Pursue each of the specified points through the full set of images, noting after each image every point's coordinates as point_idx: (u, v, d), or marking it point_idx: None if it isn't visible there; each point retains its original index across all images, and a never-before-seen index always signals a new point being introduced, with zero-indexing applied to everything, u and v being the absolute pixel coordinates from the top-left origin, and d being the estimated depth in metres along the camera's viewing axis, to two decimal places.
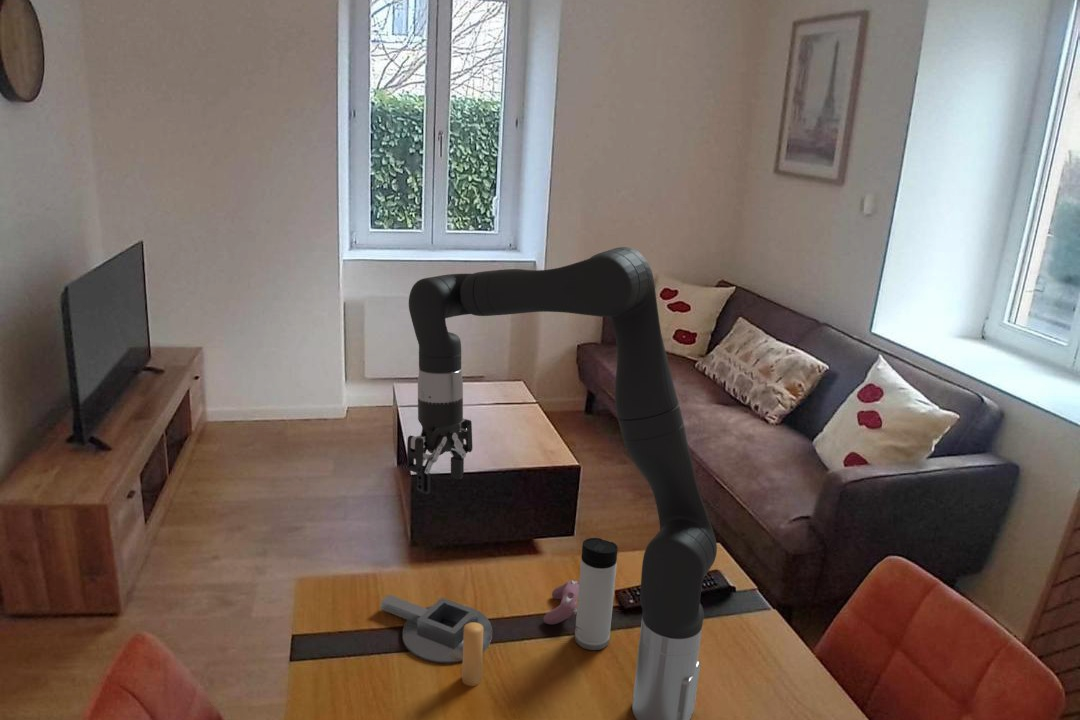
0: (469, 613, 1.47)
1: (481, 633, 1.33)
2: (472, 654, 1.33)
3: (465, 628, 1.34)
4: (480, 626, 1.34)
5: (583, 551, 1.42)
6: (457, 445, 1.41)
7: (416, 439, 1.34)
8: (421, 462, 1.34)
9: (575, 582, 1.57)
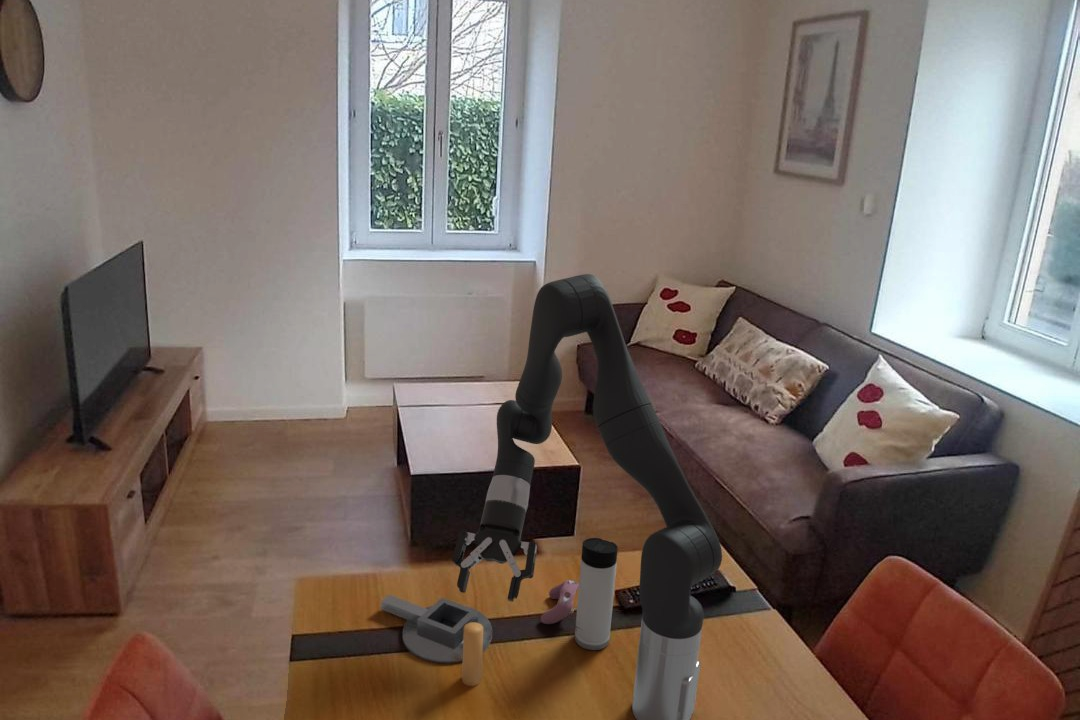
0: (469, 613, 1.47)
1: (481, 633, 1.33)
2: (472, 654, 1.33)
3: (465, 628, 1.34)
4: (480, 626, 1.34)
5: (583, 551, 1.42)
6: (506, 556, 1.41)
7: None
8: (458, 552, 1.43)
9: (572, 582, 1.57)
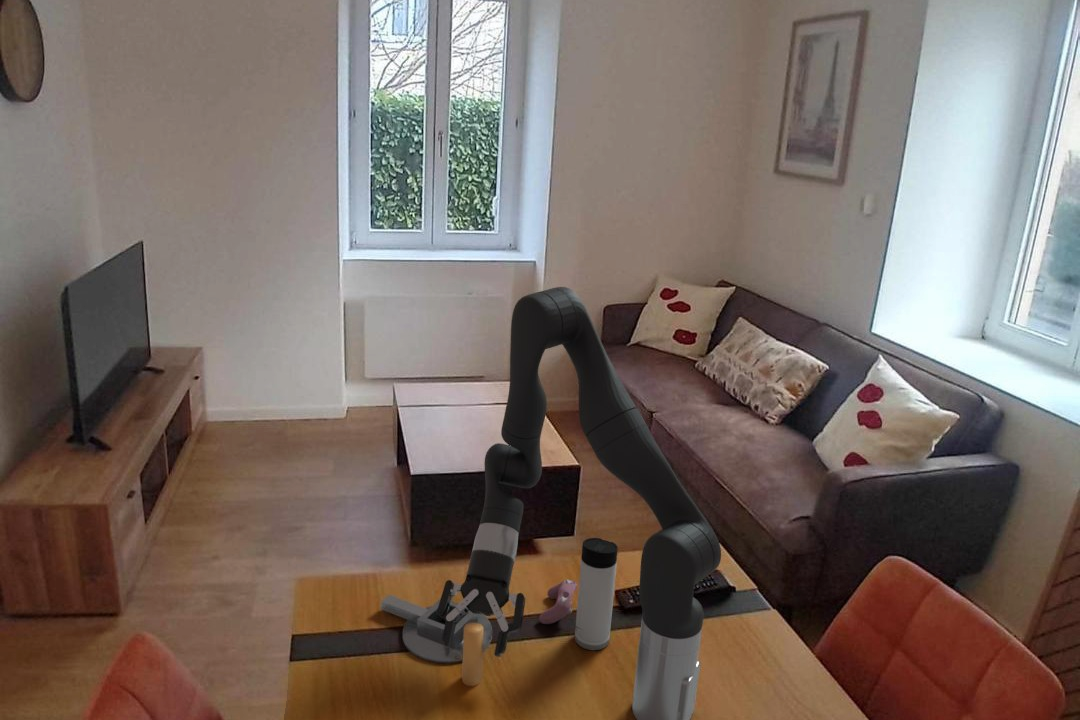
0: (469, 613, 1.47)
1: (481, 633, 1.33)
2: (472, 654, 1.33)
3: (465, 628, 1.34)
4: (480, 626, 1.34)
5: (583, 551, 1.42)
6: (493, 609, 1.36)
7: None
8: (444, 604, 1.38)
9: (570, 581, 1.57)
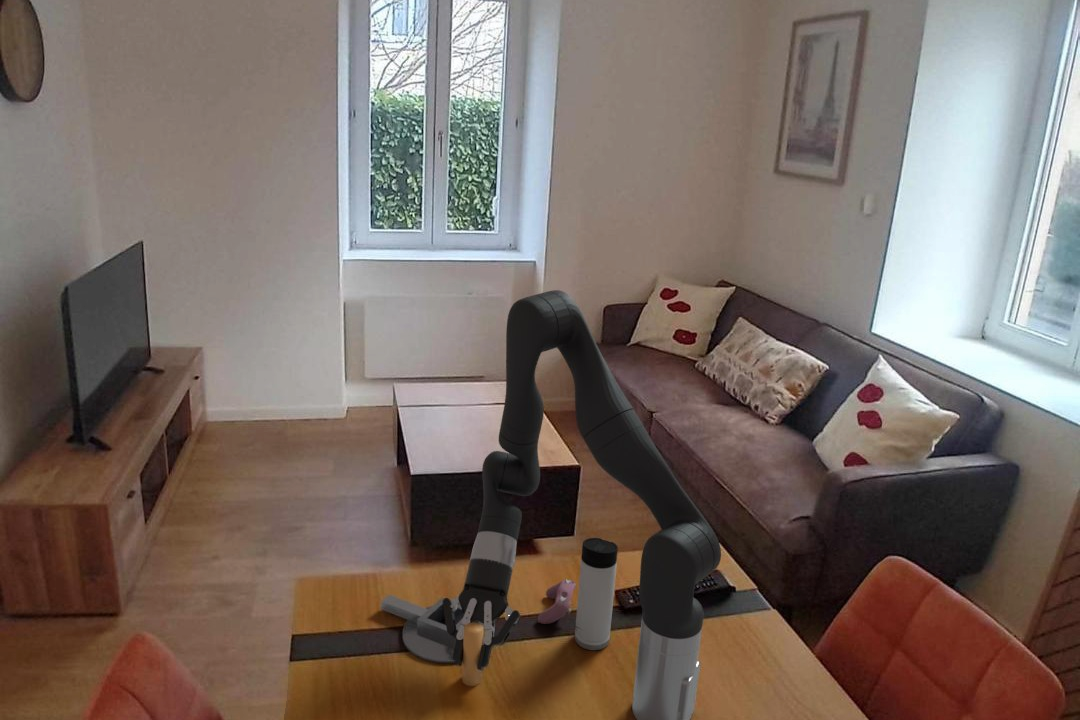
0: None
1: (481, 633, 1.33)
2: (472, 654, 1.33)
3: (465, 628, 1.34)
4: (480, 626, 1.34)
5: (583, 551, 1.42)
6: (485, 619, 1.35)
7: None
8: (451, 622, 1.36)
9: (569, 581, 1.57)
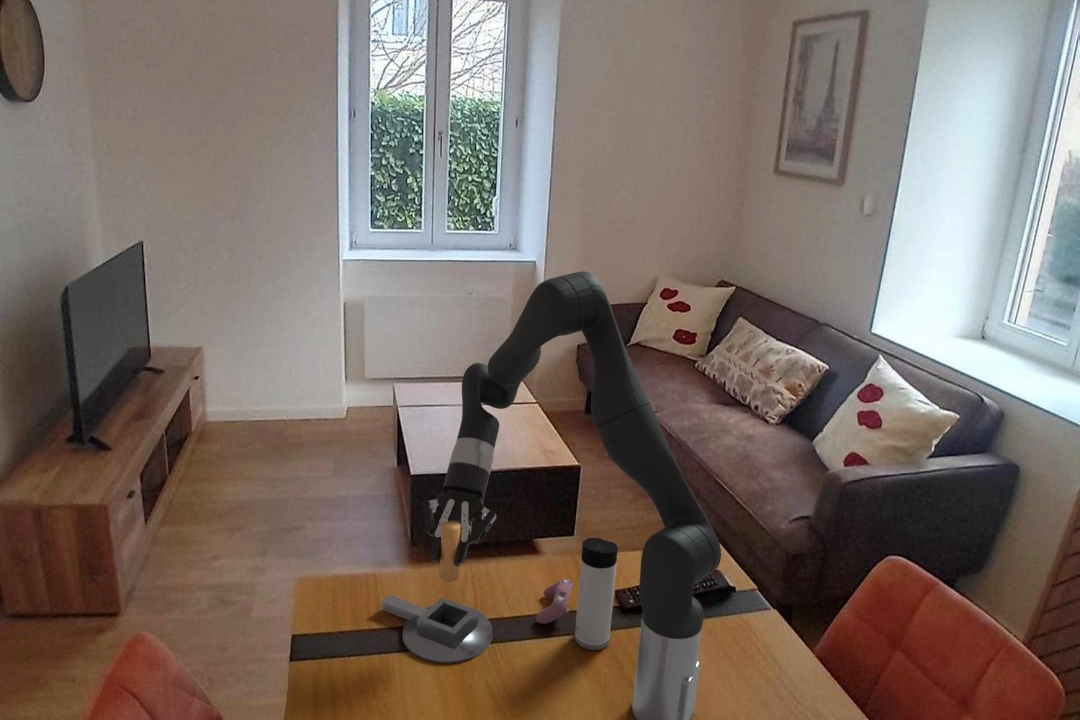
0: (469, 613, 1.47)
1: (458, 530, 1.39)
2: (449, 550, 1.40)
3: (443, 525, 1.40)
4: (457, 524, 1.40)
5: (583, 551, 1.42)
6: (462, 518, 1.42)
7: None
8: (429, 521, 1.42)
9: (567, 581, 1.57)
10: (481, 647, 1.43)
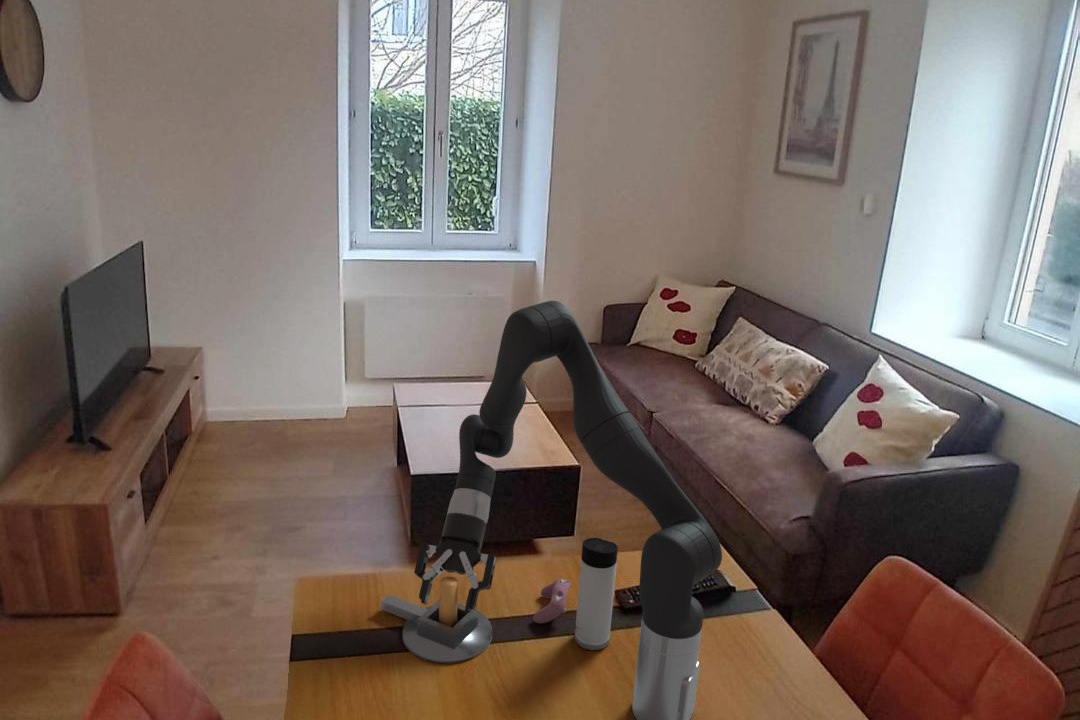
0: (469, 613, 1.47)
1: (455, 586, 1.44)
2: (447, 605, 1.44)
3: (441, 581, 1.44)
4: (455, 579, 1.45)
5: (583, 551, 1.42)
6: (465, 567, 1.46)
7: None
8: (420, 564, 1.47)
9: (564, 581, 1.57)
10: (481, 647, 1.43)
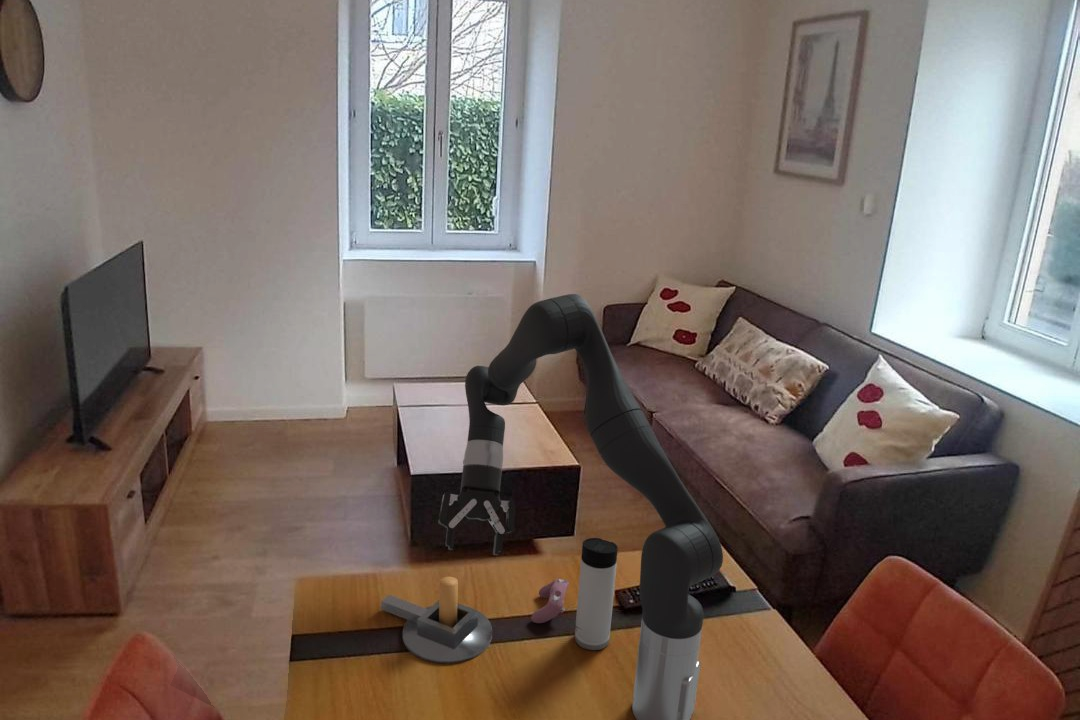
0: (469, 613, 1.47)
1: (456, 586, 1.44)
2: (447, 605, 1.44)
3: (441, 581, 1.44)
4: (455, 580, 1.45)
5: (583, 551, 1.42)
6: (491, 515, 1.55)
7: None
8: (445, 513, 1.53)
9: (562, 580, 1.57)
10: (481, 647, 1.43)
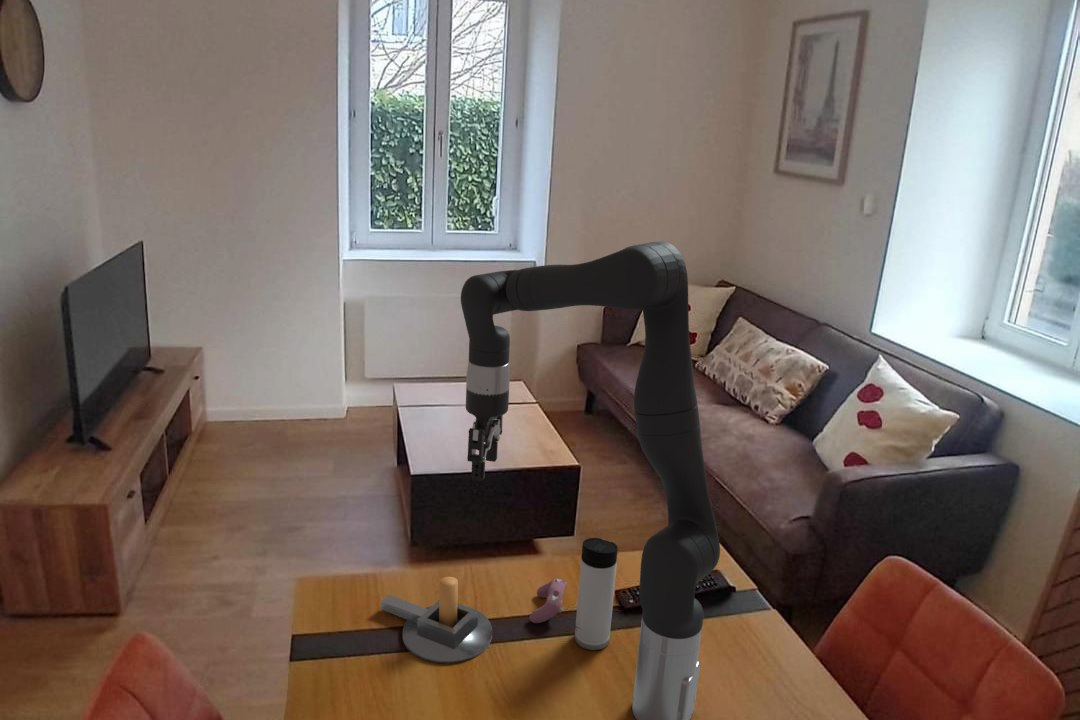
0: (469, 613, 1.47)
1: (456, 586, 1.44)
2: (447, 605, 1.44)
3: (441, 581, 1.44)
4: (455, 580, 1.45)
5: (583, 551, 1.42)
6: (498, 430, 1.48)
7: (479, 431, 1.39)
8: (482, 452, 1.41)
9: (560, 580, 1.57)
10: (481, 647, 1.43)
